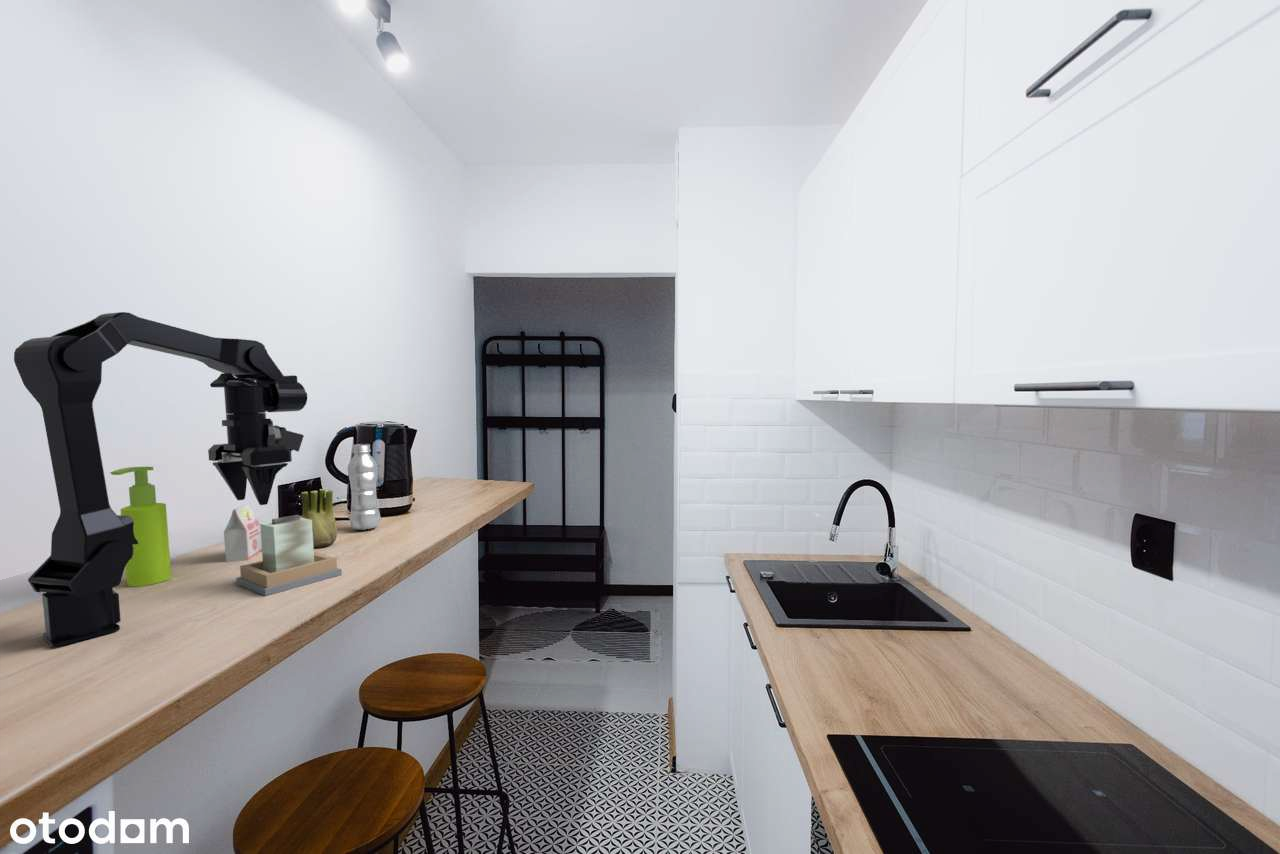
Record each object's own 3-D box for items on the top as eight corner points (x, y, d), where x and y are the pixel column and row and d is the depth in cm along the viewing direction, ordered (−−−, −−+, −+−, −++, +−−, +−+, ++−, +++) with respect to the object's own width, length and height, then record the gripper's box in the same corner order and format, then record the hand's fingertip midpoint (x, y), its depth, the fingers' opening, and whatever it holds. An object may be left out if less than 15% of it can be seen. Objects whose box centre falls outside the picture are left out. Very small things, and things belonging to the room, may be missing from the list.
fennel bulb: (300, 548, 117) (297, 491, 117) (319, 542, 122) (316, 487, 121) (324, 549, 116) (320, 491, 115) (342, 543, 121) (338, 487, 120)
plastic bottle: (343, 532, 130) (338, 446, 129) (362, 525, 137) (358, 443, 136) (369, 533, 129) (364, 446, 128) (387, 526, 136) (382, 443, 135)
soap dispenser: (110, 587, 95) (101, 469, 94) (156, 574, 102) (147, 464, 101) (135, 590, 94) (125, 470, 92) (179, 576, 100) (171, 464, 99)
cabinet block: (277, 581, 93) (273, 522, 93) (263, 576, 96) (259, 519, 96) (314, 571, 98) (311, 515, 98) (301, 566, 101) (297, 512, 101)
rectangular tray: (265, 595, 89) (264, 577, 89) (236, 583, 96) (235, 566, 95) (341, 574, 99) (340, 557, 99) (310, 565, 105) (309, 549, 105)
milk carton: (226, 562, 109) (222, 510, 108) (241, 552, 116) (238, 504, 115) (247, 560, 110) (244, 509, 109) (261, 551, 116) (258, 502, 116)
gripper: (320, 411, 100) (325, 499, 101) (272, 411, 110) (278, 490, 111) (248, 414, 91) (255, 510, 92) (204, 414, 101) (210, 500, 102)
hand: (252, 502), depth 100 cm, fingers open, 9 cm apart
